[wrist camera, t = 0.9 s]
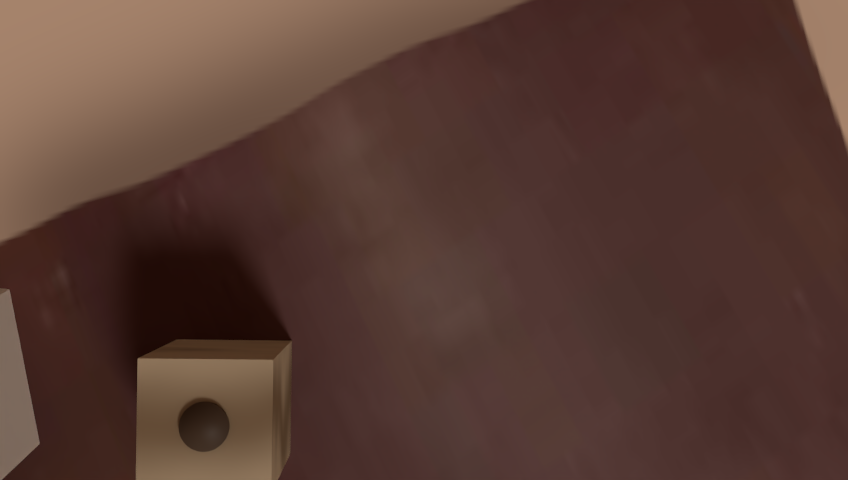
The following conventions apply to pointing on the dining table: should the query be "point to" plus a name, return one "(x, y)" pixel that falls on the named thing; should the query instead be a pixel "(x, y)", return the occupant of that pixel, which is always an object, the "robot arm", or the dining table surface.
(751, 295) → the dining table surface
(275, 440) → the maple cube
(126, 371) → the dining table surface
